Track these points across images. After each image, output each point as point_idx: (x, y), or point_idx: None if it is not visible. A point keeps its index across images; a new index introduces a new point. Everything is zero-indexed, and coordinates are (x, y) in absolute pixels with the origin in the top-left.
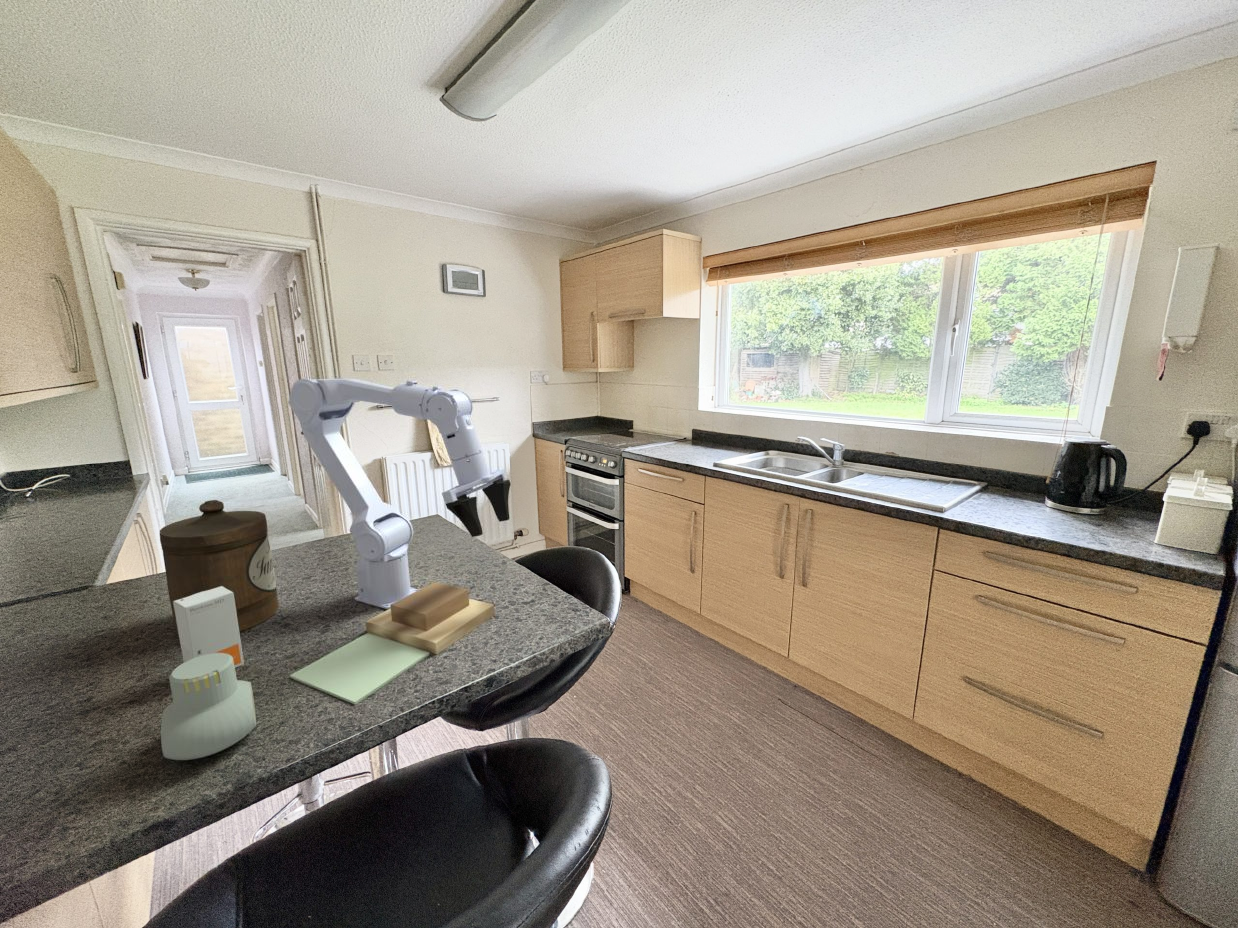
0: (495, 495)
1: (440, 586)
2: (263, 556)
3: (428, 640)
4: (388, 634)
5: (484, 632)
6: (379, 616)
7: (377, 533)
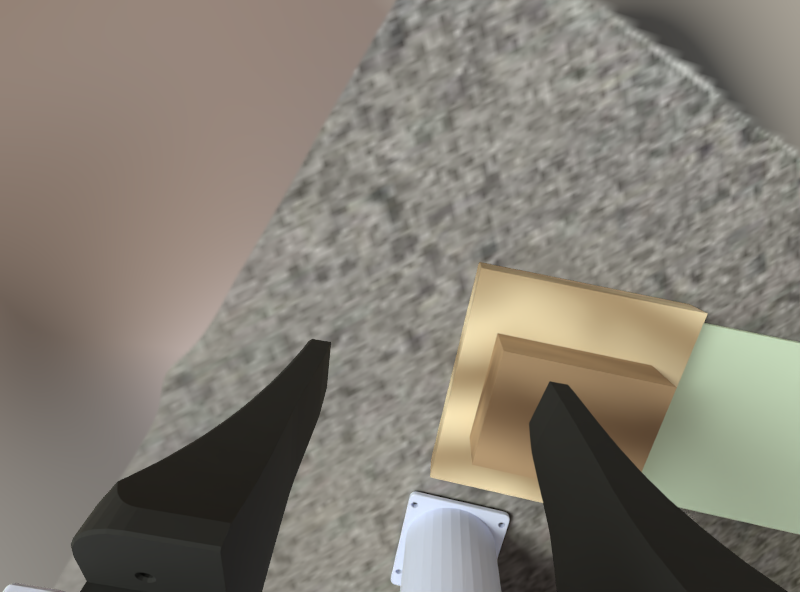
0: (268, 516)
1: (498, 435)
2: None
3: (696, 337)
4: None
5: (571, 244)
6: None
7: None
